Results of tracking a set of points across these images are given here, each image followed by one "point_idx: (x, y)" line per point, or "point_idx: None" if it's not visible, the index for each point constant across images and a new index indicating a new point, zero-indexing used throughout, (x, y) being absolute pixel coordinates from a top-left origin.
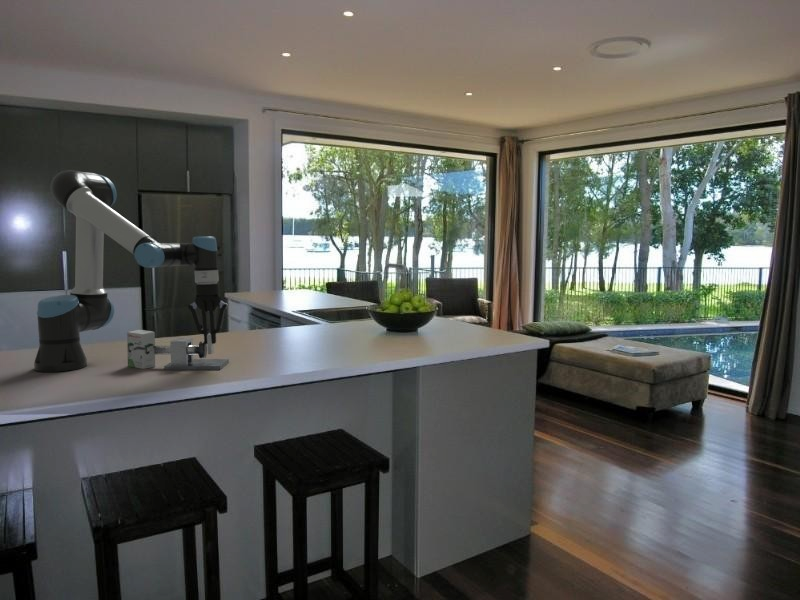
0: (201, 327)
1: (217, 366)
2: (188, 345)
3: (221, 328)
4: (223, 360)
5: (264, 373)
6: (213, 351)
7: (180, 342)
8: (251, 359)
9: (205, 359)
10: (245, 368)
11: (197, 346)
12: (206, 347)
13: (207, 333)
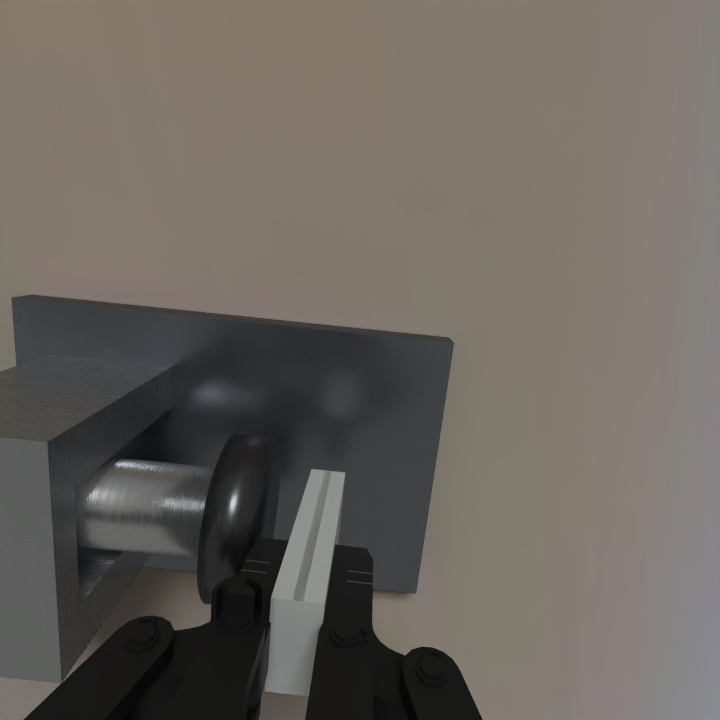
0: (125, 699)
1: (396, 589)
2: (85, 525)
3: (467, 699)
4: (416, 403)
5: (686, 702)
6: (343, 489)
7: (11, 667)
8: (630, 230)
9: (263, 342)
10: (575, 558)
11: (188, 552)
12: (266, 468)
13: (264, 683)
